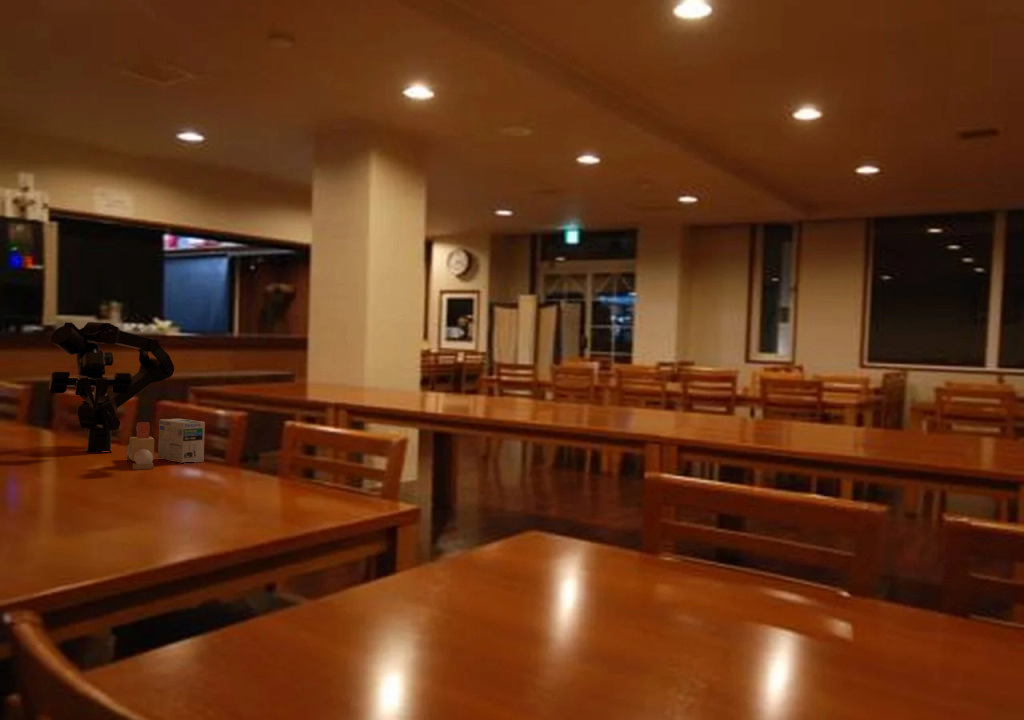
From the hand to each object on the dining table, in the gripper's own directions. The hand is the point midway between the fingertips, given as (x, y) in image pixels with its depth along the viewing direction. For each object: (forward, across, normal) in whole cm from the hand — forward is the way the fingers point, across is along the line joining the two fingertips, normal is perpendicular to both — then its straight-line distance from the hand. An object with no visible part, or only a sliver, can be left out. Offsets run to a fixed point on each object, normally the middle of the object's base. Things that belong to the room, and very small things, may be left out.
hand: (94, 407), depth 207 cm
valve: (+16, +9, +3) cm, 19 cm away
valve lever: (+16, +8, -9) cm, 20 cm away
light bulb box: (+14, +20, +5) cm, 25 cm away
